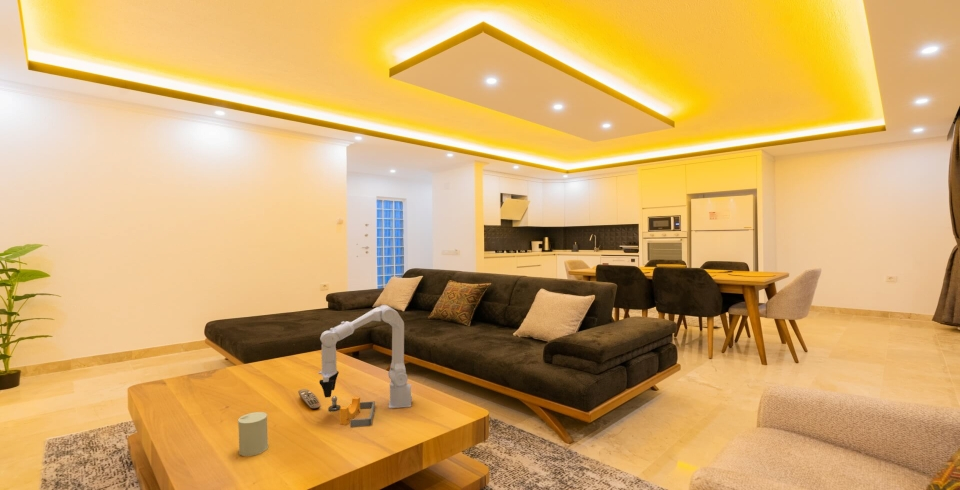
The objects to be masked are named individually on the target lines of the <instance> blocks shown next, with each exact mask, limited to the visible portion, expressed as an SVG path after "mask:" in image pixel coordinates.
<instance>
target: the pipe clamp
mask: <svg viewBox="0 0 960 490" xmlns="http://www.w3.org/2000/svg"><path fill="white" fill-rule="evenodd" d="M360 402H361V397H359V396H357V397H356V396H353V397H352V399H351V404H349V405H347V406H341V408H340V410H339V425H344V426H345V425H348V424H349V423H350V420H352V419H355V418H356V416H358V415H359V414H360V413H361V409H360Z"/></svg>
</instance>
